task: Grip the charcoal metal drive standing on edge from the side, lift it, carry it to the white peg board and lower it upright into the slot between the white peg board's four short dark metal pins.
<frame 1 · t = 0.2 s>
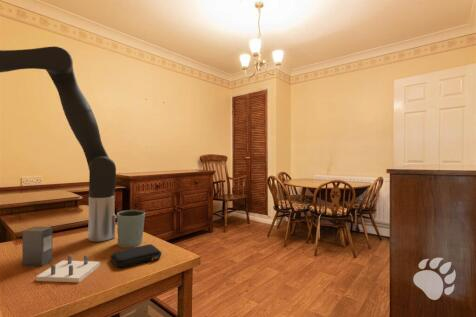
carrying case or bag: (137, 261, 83), on the table
white peg board: (70, 272, 73), on the table
green cup: (130, 243, 96), on the table
drive: (37, 263, 78), on the table
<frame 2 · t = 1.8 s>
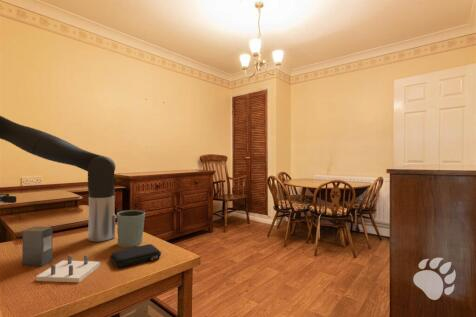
hand: (2, 202, 78), 19 cm above the table, tool horizontal, fingers open, 8 cm apart
nothing on the table moved.
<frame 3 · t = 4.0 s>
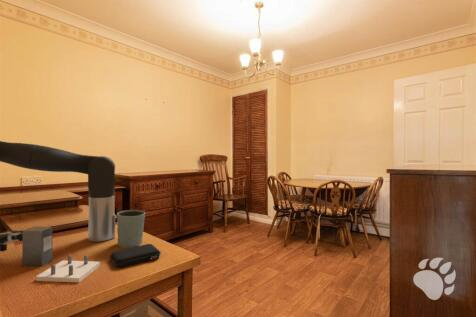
hand: (18, 242, 78), 6 cm above the table, tool horizontal, fingers open, 8 cm apart
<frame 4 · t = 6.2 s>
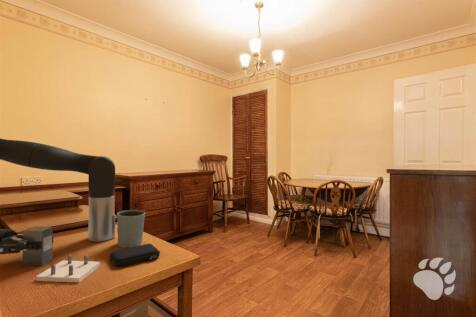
hand: (46, 243, 78), 7 cm above the table, tool horizontal, fingers closed on drive, 4 cm apart
drive: (37, 263, 78), on the table, touching gripper
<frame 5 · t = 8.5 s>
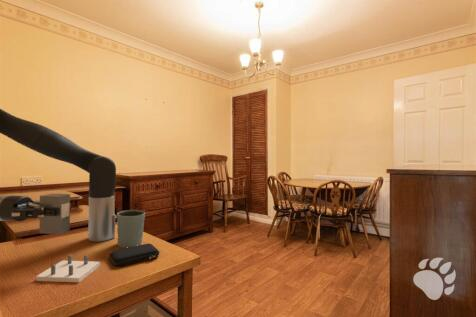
hand: (64, 210, 74), 18 cm above the table, tool horizontal, fingers closed on drive, 4 cm apart
drive: (55, 231, 75), point 11 cm above the table, touching gripper
when the fingers open (9 cm above the table, at t = 11.0 s): drive drops 1 cm, resting on white peg board.
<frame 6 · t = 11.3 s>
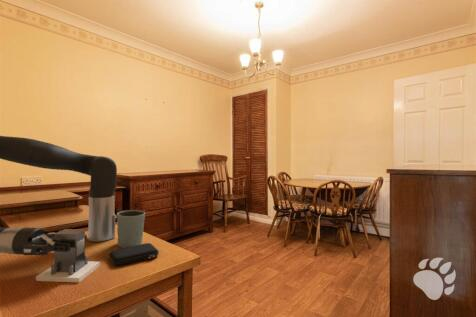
hand: (78, 242, 72), 9 cm above the table, tool horizontal, fingers open, 6 cm apart
drive: (69, 268, 73), point 1 cm above the table, touching white peg board
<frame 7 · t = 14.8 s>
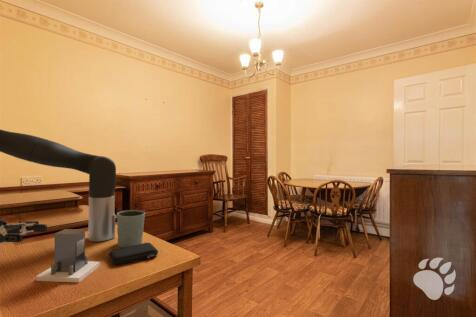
hand: (34, 232, 73), 11 cm above the table, tool horizontal, fingers open, 8 cm apart
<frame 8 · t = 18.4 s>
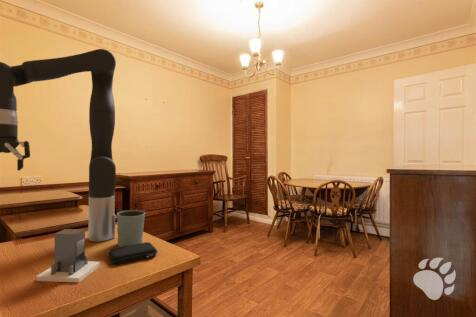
hand: (2, 170, 85), 28 cm above the table, tool pointing down, fingers open, 8 cm apart
at the end: drive 0.1 cm off-centre on the white peg board, point 1.2 cm above the white peg board's base; drive tilted 0°; the gripper is holding nothing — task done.
